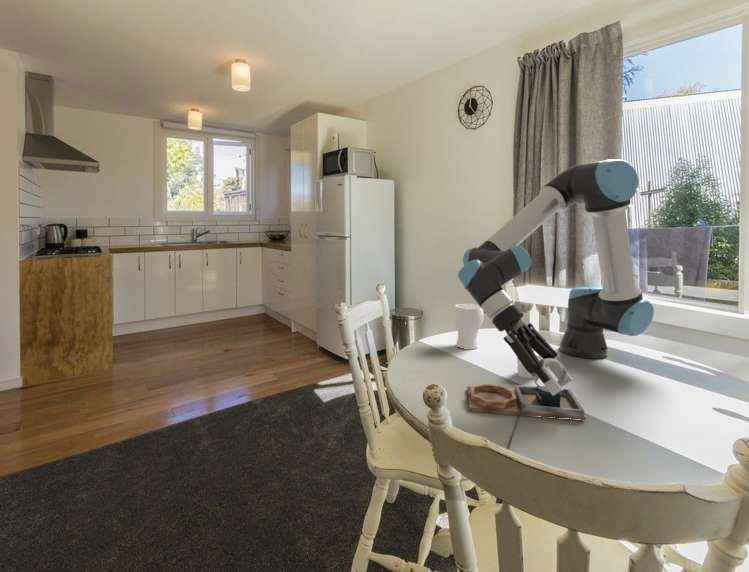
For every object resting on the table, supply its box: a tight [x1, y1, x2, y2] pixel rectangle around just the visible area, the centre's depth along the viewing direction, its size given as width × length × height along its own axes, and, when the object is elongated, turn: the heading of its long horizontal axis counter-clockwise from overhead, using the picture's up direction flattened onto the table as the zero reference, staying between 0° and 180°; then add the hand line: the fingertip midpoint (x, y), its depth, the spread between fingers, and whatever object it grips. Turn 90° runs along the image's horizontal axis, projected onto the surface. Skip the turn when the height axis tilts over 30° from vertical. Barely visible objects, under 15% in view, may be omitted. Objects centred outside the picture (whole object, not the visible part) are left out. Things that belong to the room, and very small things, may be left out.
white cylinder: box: [516, 349, 542, 379], centre depth 123 cm, size 7×7×7 cm
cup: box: [452, 303, 485, 350], centre depth 150 cm, size 11×11×15 cm
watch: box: [532, 358, 568, 407], centre depth 102 cm, size 6×8×11 cm
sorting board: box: [467, 383, 586, 421], centre depth 103 cm, size 26×13×2 cm, turn 79°
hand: (563, 387), depth 99 cm, fingers open, 7 cm apart
